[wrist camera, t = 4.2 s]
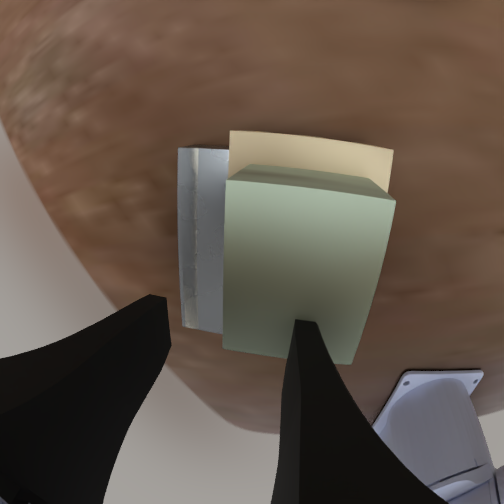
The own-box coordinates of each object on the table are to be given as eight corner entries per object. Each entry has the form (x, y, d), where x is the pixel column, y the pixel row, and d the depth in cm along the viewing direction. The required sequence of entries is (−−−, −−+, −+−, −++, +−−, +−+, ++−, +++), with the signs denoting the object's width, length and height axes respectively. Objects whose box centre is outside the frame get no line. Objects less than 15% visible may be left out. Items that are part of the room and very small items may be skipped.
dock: (319, 327, 18) (319, 348, 16) (193, 307, 19) (182, 326, 17) (351, 160, 14) (358, 165, 12) (193, 144, 15) (178, 147, 13)
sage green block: (349, 307, 15) (362, 388, 10) (233, 292, 15) (201, 368, 10) (380, 146, 11) (430, 161, 6) (241, 130, 12) (197, 132, 7)
